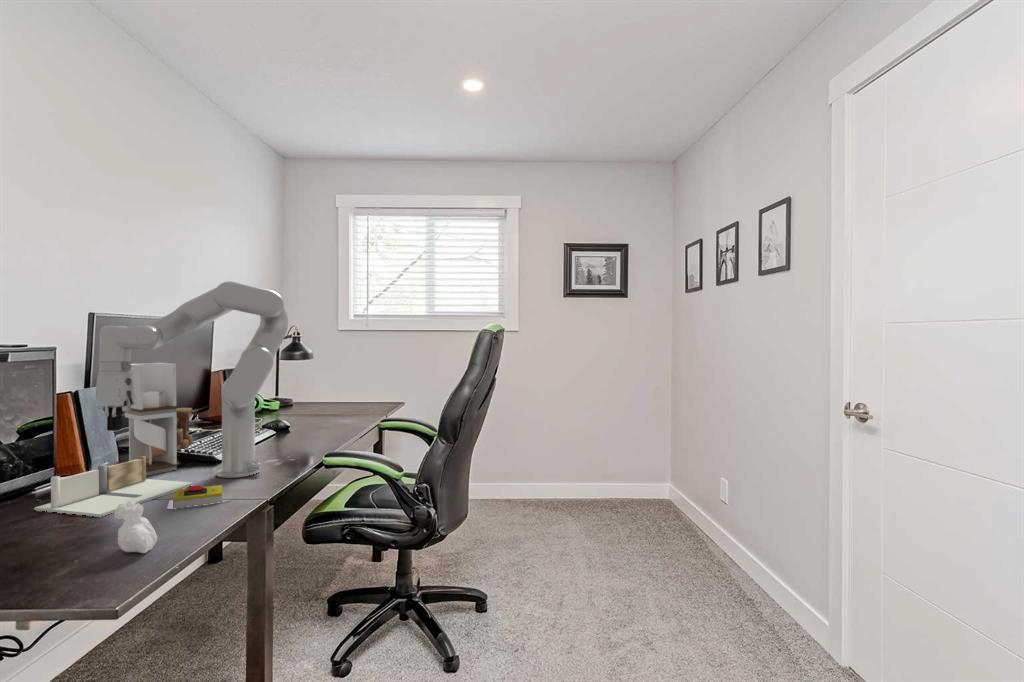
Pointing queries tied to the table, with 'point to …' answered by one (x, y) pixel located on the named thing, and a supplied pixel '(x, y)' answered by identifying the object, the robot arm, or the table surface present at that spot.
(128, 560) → the table surface
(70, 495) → the fixed fence section
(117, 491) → the board
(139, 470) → the wooden panel
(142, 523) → the white tied sack
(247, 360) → the robot arm
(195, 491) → the emergency button
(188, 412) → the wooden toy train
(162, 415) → the white wooden-base stand
